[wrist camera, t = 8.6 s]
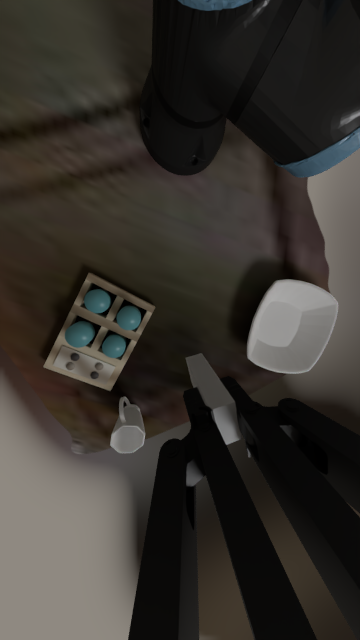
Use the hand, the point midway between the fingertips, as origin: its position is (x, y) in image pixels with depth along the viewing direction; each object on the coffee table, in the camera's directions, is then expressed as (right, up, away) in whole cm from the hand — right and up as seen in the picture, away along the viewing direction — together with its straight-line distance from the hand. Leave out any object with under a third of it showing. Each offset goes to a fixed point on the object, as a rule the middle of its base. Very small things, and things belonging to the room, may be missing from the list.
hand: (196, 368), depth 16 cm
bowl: (+24, +3, +30) cm, 38 cm away
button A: (-18, +8, +20) cm, 28 cm away
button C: (-21, +2, +20) cm, 29 cm away
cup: (-14, -16, +27) cm, 35 cm away
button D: (-15, -1, +23) cm, 28 cm away
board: (-18, +1, +22) cm, 29 cm away
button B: (-12, +5, +21) cm, 24 cm away
